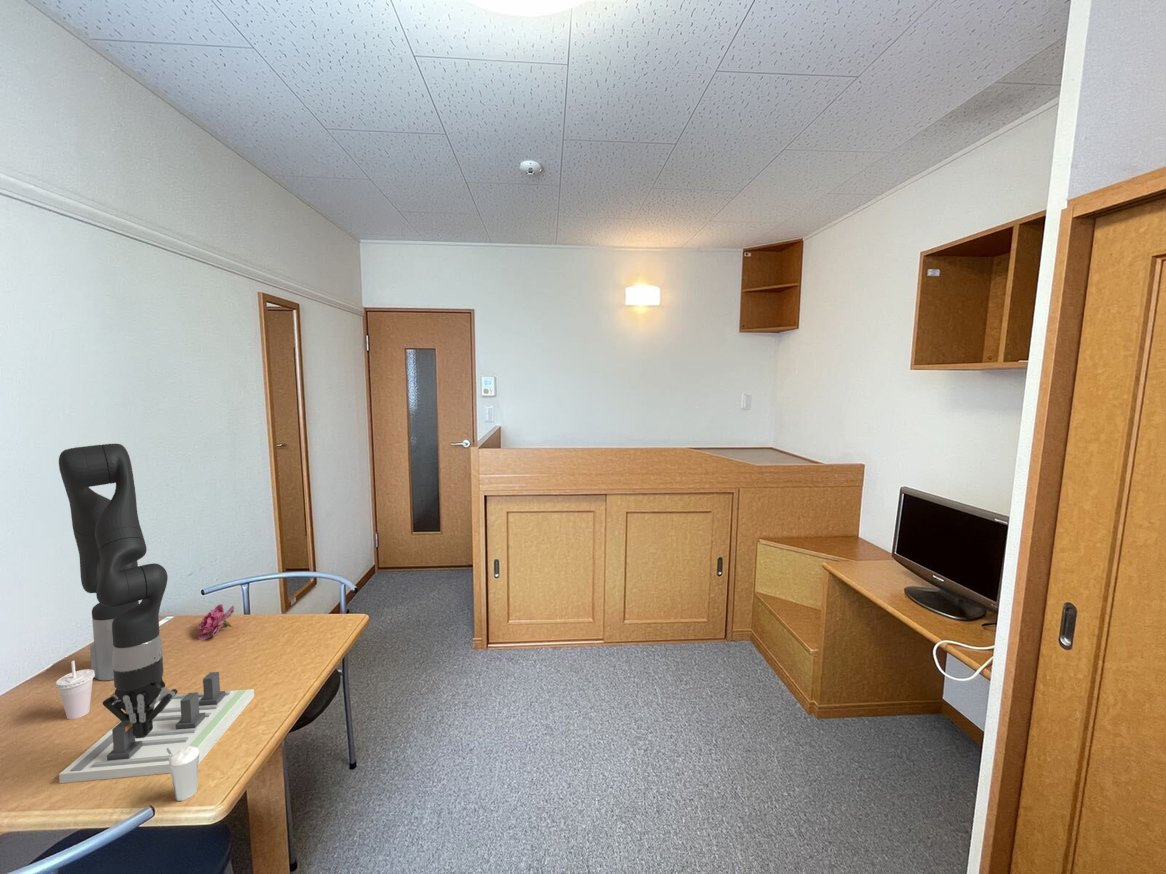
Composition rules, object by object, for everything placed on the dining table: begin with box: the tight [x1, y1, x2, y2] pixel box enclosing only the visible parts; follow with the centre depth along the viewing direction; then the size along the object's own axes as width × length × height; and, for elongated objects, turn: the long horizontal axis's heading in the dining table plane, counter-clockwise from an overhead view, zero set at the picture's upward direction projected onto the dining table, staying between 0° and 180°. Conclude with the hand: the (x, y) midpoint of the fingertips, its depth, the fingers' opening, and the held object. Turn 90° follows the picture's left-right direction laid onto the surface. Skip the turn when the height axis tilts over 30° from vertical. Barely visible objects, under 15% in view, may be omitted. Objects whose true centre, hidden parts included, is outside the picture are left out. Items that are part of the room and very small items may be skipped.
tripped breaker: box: [107, 720, 142, 761], centre depth 98 cm, size 4×4×7 cm
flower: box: [196, 603, 239, 641], centre depth 150 cm, size 11×10×10 cm
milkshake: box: [166, 746, 199, 802], centre depth 91 cm, size 4×5×10 cm
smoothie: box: [55, 660, 95, 720], centre depth 112 cm, size 6×6×14 cm
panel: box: [58, 671, 255, 784], centre depth 106 cm, size 24×24×9 cm
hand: (143, 735), depth 99 cm, fingers closed
